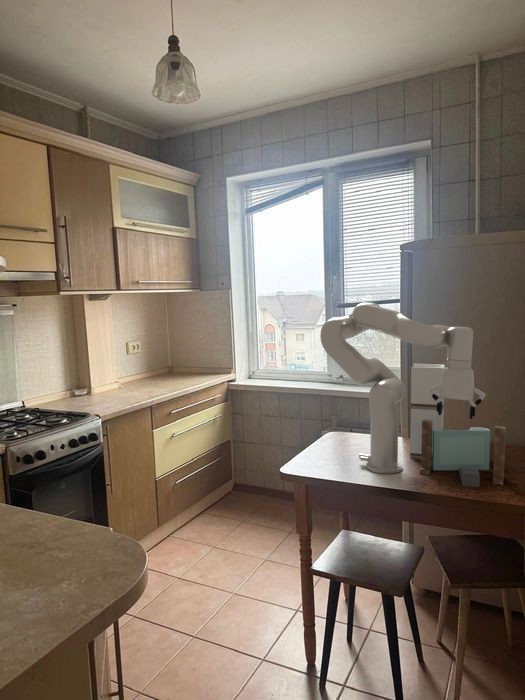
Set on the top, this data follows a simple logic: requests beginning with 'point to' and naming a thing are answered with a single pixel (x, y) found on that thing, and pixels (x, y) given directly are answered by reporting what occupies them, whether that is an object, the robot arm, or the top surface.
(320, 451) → the top surface
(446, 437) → the door
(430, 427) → the door frame
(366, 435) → the top surface
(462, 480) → the block
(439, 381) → the white block
